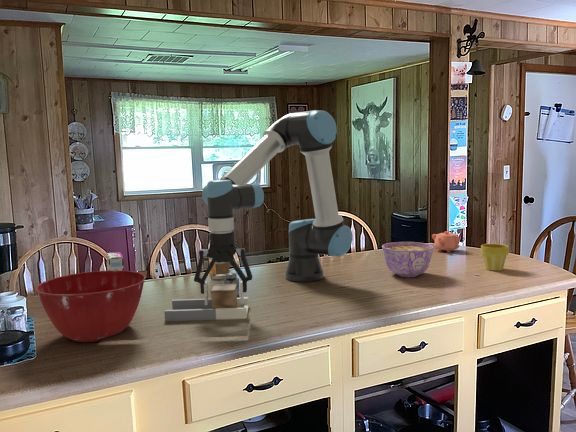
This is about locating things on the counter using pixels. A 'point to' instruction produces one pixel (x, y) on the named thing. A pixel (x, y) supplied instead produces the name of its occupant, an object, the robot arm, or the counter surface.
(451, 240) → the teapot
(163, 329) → the counter surface
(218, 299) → the crate
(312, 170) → the robot arm
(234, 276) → the crank
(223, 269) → the coffee cup
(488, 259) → the plant pot
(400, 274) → the bowl of food
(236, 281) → the winch
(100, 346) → the counter surface
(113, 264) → the candy bar box
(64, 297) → the mixing bowl
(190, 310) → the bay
